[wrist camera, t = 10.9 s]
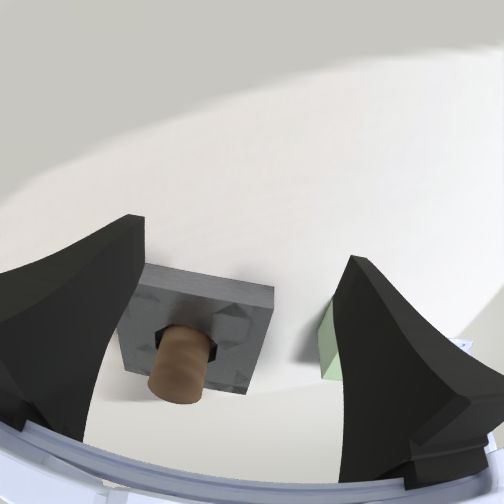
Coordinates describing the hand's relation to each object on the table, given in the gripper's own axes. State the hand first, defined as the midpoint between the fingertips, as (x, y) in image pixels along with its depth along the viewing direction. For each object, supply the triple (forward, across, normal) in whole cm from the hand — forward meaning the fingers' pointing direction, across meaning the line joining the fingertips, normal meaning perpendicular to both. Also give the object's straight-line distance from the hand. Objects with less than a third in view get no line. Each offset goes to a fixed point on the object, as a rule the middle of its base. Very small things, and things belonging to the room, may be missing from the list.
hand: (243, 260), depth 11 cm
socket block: (+10, +3, +15) cm, 18 cm away
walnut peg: (+10, +3, +15) cm, 18 cm away
